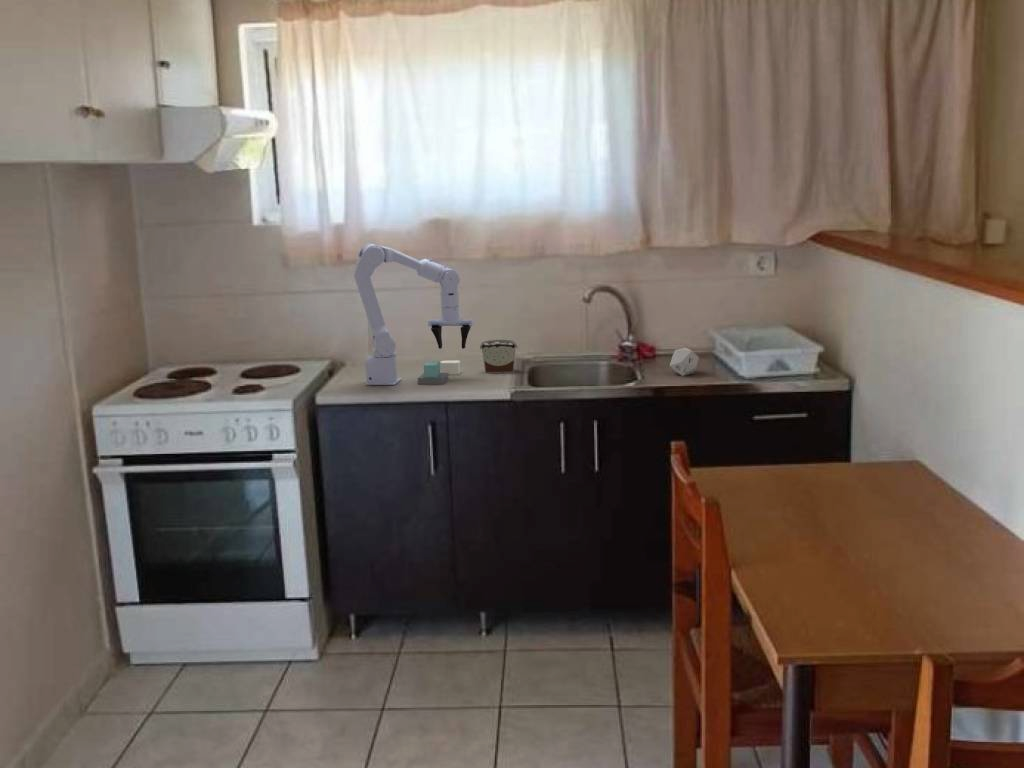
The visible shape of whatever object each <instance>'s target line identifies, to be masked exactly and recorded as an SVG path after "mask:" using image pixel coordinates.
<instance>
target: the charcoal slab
mask: <svg viewBox="0 0 1024 768" xmlns="http://www.w3.org/2000/svg"><path fill="white" fill-rule="evenodd" d="M448 379H449V375H448V373H441V372H440V375H439V376H438V377H437V378H424V372H423V373H422V374H421V375H419V376H418V378H417V385H444V384H445V383H446V382H447V381H446V380H448ZM445 381H446V382H445Z"/></svg>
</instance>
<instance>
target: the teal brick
mask: <svg viewBox="0 0 1024 768" xmlns="http://www.w3.org/2000/svg"><path fill="white" fill-rule="evenodd" d="M440 363H441V361H439V360H438V361H437V360H435V361H433V360H432V361H431V360H429V361H428V360H427V361H426V362H425V363H424V364H423V373H424V378H437V377H438V376H439V375H440V373H441V372H440Z"/></svg>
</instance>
